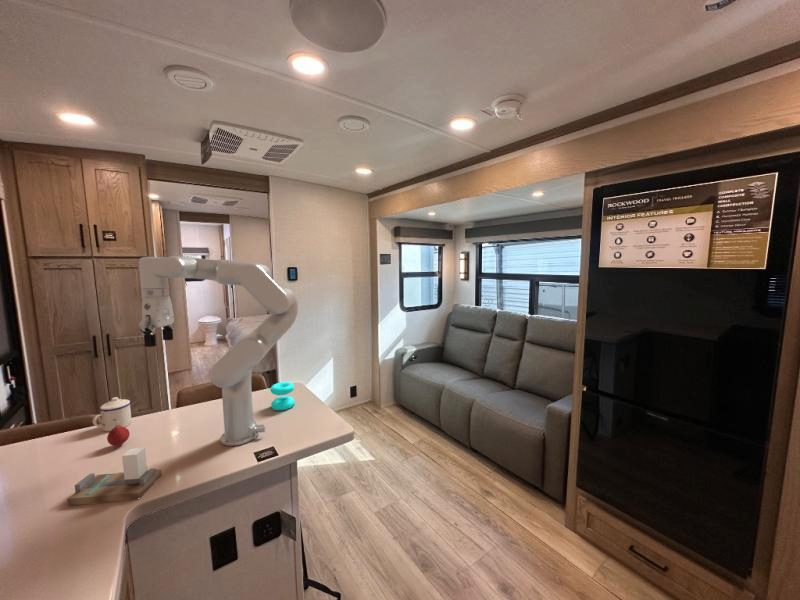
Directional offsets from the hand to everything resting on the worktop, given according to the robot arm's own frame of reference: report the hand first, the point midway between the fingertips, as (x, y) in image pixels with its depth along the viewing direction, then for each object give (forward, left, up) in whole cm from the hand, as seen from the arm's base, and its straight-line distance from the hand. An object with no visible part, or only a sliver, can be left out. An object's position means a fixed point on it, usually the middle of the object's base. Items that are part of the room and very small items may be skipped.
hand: (159, 343), depth 111 cm
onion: (+16, -1, -37) cm, 40 cm away
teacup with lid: (+28, -16, -37) cm, 49 cm away
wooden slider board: (0, +24, -36) cm, 44 cm away
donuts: (-34, -26, -37) cm, 56 cm away
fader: (-5, +24, -34) cm, 42 cm away
